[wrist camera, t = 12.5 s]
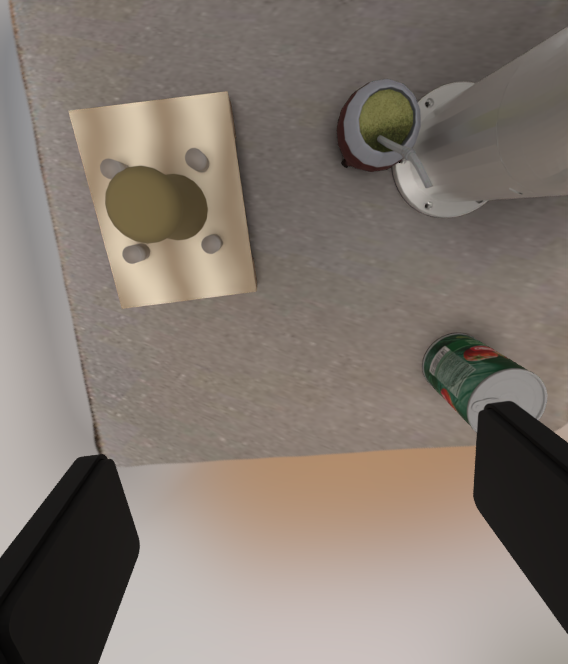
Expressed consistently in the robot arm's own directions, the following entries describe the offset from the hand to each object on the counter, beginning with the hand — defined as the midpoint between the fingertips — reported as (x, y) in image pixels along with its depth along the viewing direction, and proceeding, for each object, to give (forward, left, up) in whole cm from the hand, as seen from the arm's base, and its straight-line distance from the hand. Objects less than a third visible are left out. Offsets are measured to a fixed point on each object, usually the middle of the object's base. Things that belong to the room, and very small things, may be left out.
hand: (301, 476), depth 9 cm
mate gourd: (-11, -12, -34) cm, 37 cm away
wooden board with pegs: (+9, -8, -33) cm, 35 cm away
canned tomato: (-21, +14, -34) cm, 42 cm away
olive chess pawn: (+8, -8, -30) cm, 32 cm away
